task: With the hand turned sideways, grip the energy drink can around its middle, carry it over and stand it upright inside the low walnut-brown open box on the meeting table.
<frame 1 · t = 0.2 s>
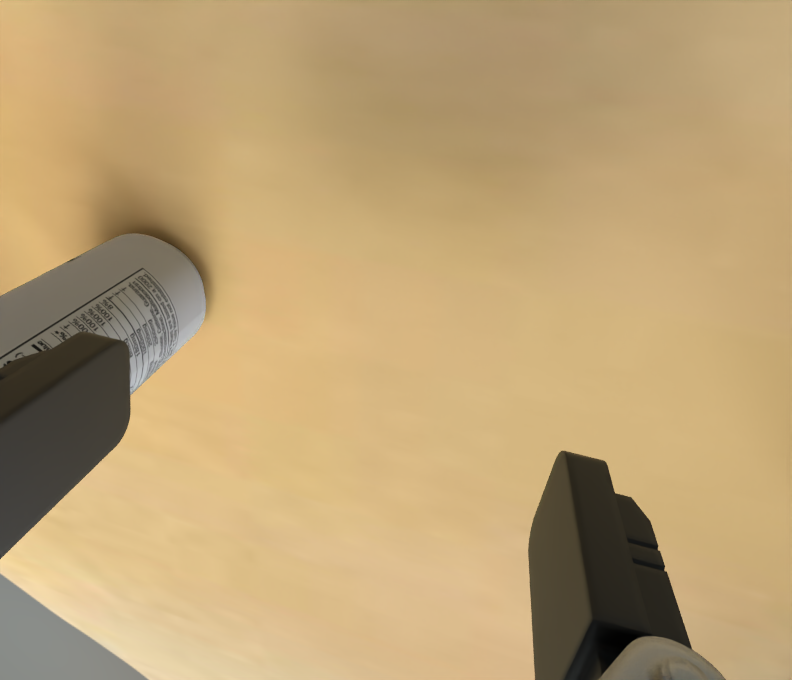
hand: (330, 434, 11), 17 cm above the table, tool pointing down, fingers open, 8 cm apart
energy drink can: (160, 283, 31), on the table
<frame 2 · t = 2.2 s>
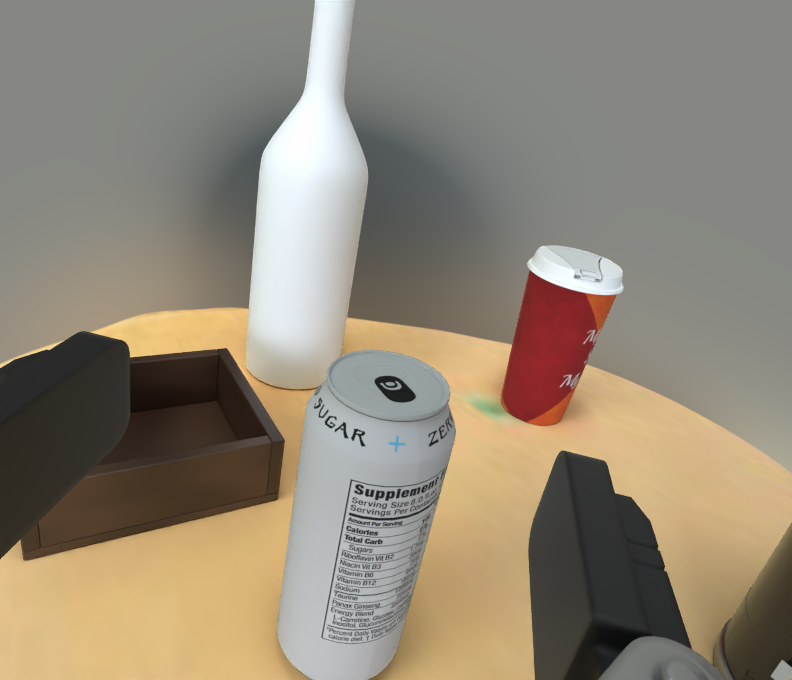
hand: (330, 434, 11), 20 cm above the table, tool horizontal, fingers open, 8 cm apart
bottle: (292, 367, 53), on the table
walnut box: (144, 464, 38), on the table
energy drink can: (336, 641, 30), on the table
paper cup: (530, 408, 54), on the table
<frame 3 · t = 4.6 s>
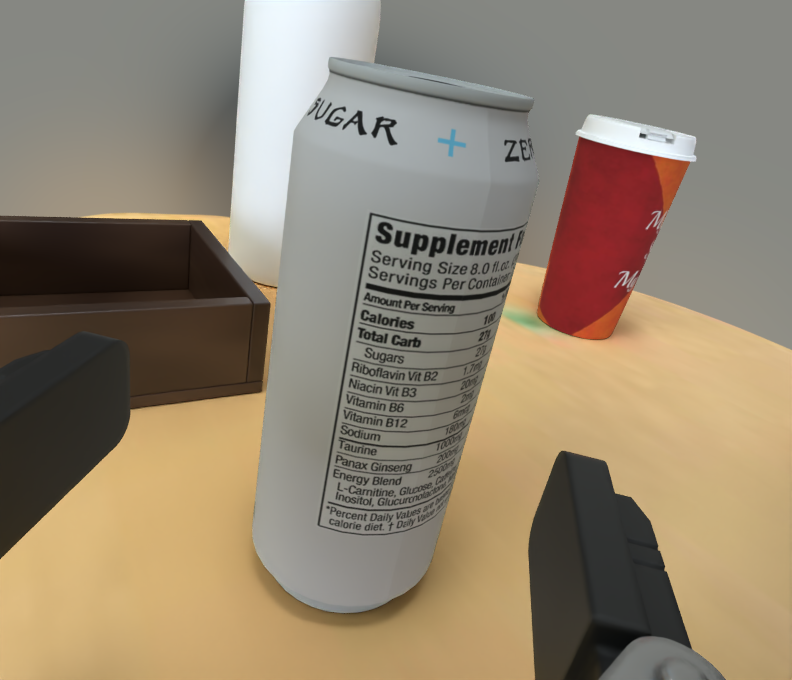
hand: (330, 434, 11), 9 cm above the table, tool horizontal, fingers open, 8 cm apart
bottle: (285, 270, 43), on the table
walnut box: (85, 346, 29), on the table
energy drink can: (339, 555, 20), on the table
paper cup: (572, 324, 44), on the table
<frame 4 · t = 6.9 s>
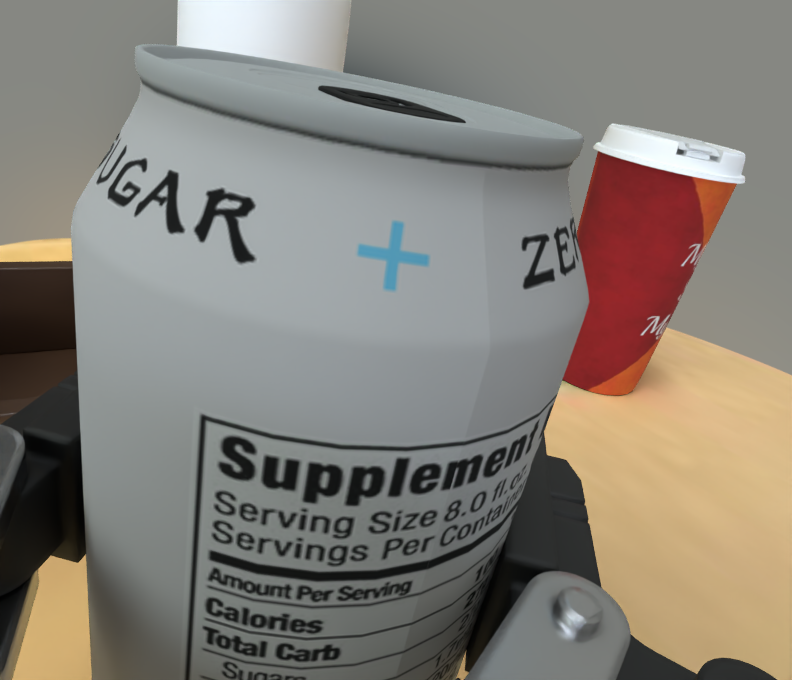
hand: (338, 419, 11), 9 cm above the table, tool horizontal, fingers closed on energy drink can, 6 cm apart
bottle: (242, 311, 36), on the table
paper cup: (588, 373, 37), on the table
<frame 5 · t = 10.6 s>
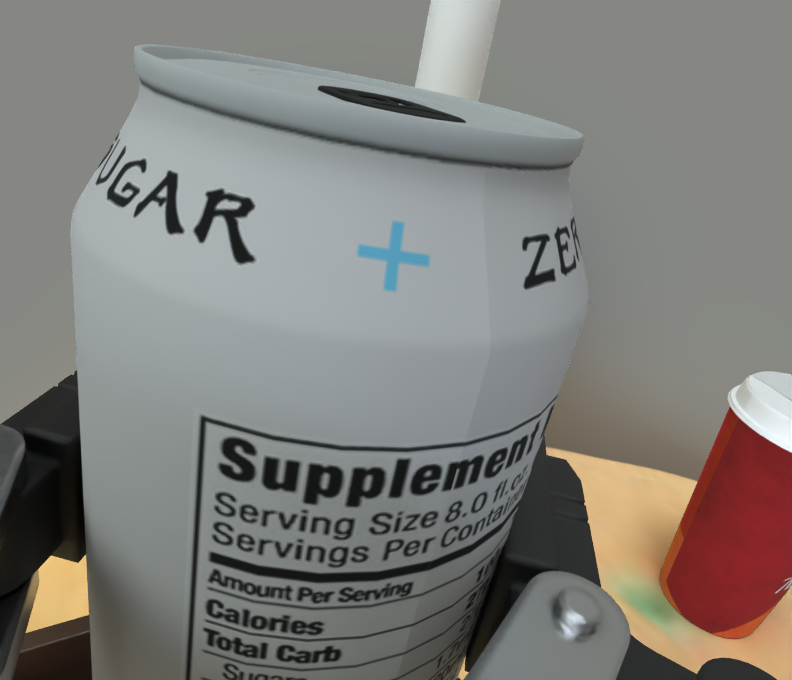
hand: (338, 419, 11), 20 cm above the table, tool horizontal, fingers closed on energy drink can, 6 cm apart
bottle: (355, 541, 35), on the table
paper cup: (704, 599, 36), on the table
when the fingers open (10 cm above the table, at t = 14.7 s): energy drink can stays where it is, resting on walnut box.
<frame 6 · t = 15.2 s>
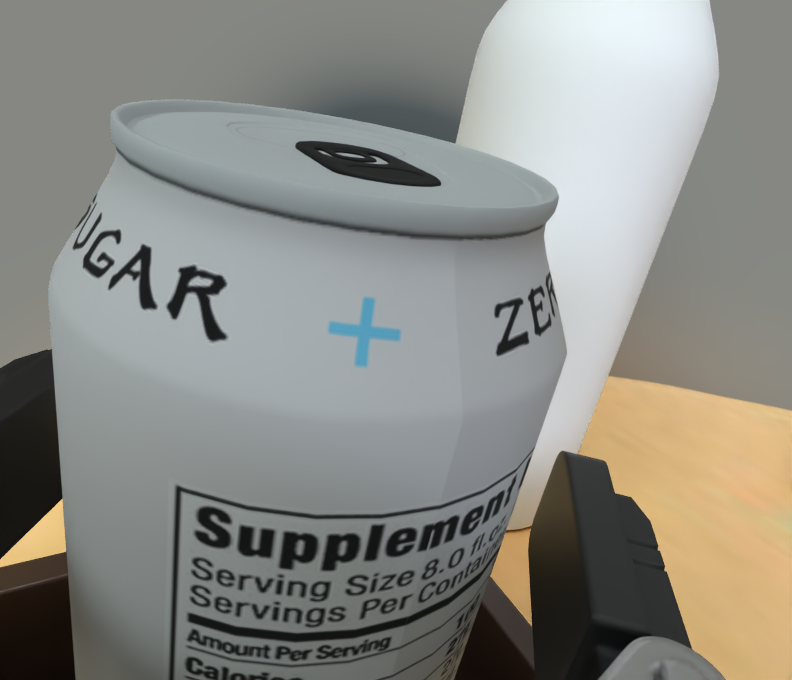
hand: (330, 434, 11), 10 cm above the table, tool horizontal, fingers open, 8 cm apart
bottle: (471, 473, 28), on the table
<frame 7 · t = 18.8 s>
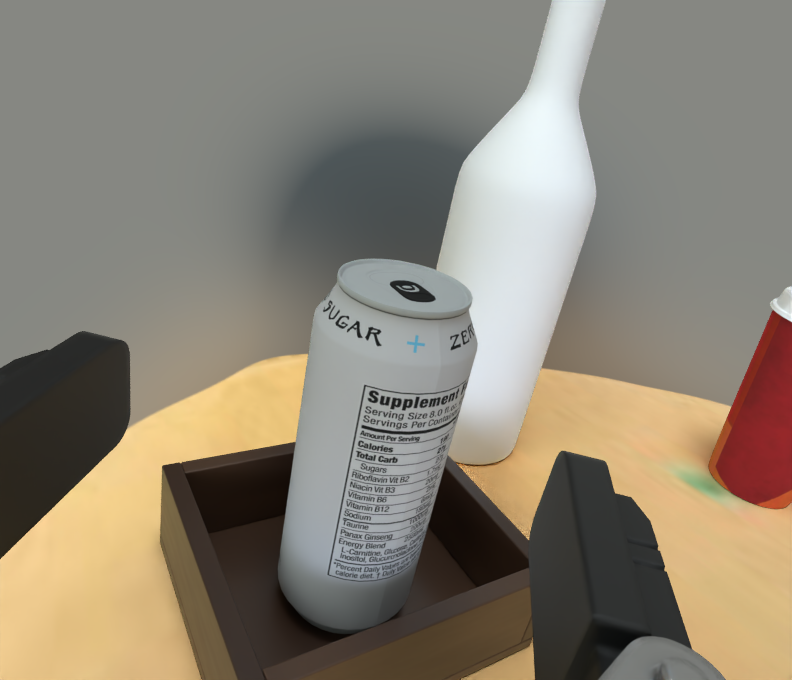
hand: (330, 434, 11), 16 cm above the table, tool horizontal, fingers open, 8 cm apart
bottle: (457, 432, 42), on the table
walnut box: (340, 593, 28), on the table
energy drink can: (341, 589, 28), resting on walnut box
paper cup: (746, 483, 43), on the table
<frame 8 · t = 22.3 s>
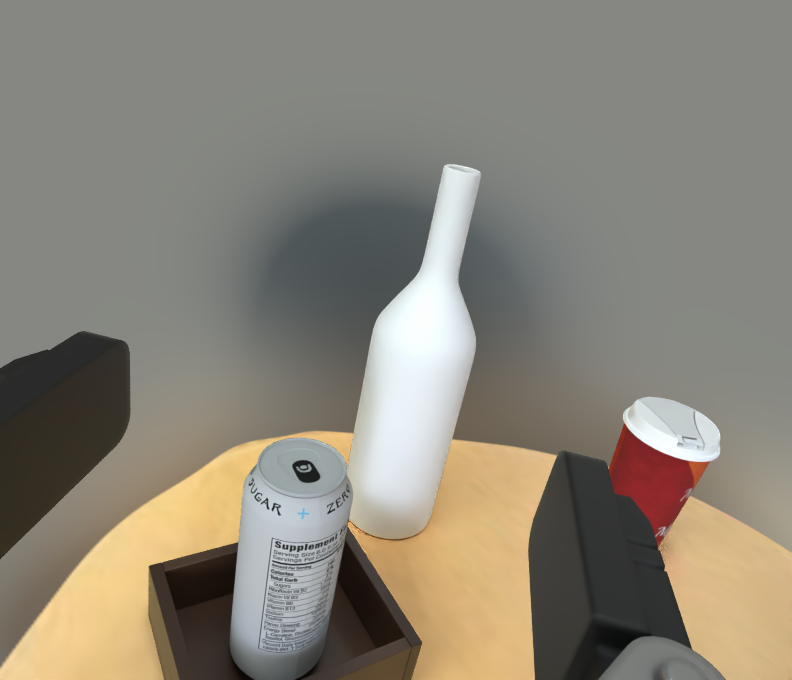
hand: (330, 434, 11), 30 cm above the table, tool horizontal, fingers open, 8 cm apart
bottle: (385, 508, 54), on the table
walnut box: (276, 652, 39), on the table
energy drink can: (276, 650, 39), resting on walnut box
paper cup: (617, 546, 55), on the table
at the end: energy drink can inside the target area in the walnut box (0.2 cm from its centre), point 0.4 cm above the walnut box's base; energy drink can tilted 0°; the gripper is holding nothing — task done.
